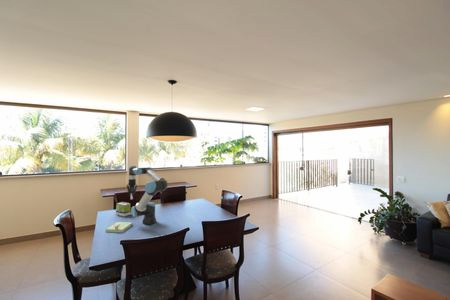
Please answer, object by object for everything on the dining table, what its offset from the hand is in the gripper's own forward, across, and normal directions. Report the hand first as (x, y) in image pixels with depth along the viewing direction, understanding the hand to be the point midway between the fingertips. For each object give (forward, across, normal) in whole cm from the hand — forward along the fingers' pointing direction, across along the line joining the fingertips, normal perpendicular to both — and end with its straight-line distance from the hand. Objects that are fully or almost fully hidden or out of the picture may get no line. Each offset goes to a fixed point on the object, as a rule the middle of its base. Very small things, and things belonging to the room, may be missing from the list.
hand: (131, 199), depth 243 cm
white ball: (+25, +5, +21) cm, 33 cm away
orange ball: (+22, 0, +30) cm, 37 cm away
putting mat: (+26, +2, +21) cm, 34 cm away
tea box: (+27, +23, -25) cm, 43 cm away
